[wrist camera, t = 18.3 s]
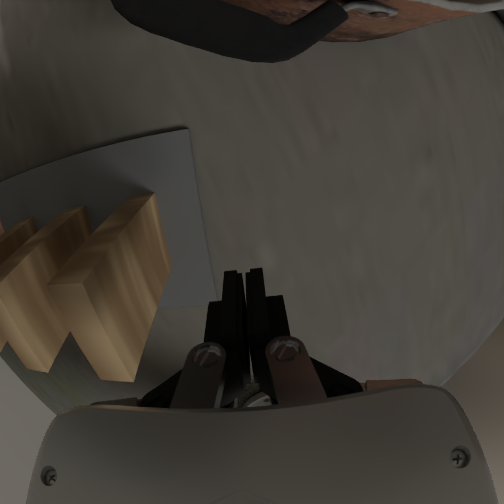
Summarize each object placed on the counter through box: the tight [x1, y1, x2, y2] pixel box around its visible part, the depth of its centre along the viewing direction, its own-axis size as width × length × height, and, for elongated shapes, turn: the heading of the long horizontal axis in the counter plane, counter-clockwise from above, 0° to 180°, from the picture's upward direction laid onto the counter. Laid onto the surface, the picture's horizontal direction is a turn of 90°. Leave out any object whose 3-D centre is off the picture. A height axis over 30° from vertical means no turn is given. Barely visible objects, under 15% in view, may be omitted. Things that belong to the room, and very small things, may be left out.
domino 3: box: [47, 193, 172, 382], centre depth 16 cm, size 2×6×11 cm, turn 5°
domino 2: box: [0, 205, 93, 373], centre depth 16 cm, size 2×6×11 cm, turn 5°
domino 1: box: [0, 217, 38, 352], centre depth 16 cm, size 2×6×11 cm, turn 5°
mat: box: [0, 128, 218, 308], centre depth 21 cm, size 26×14×1 cm, turn 95°
